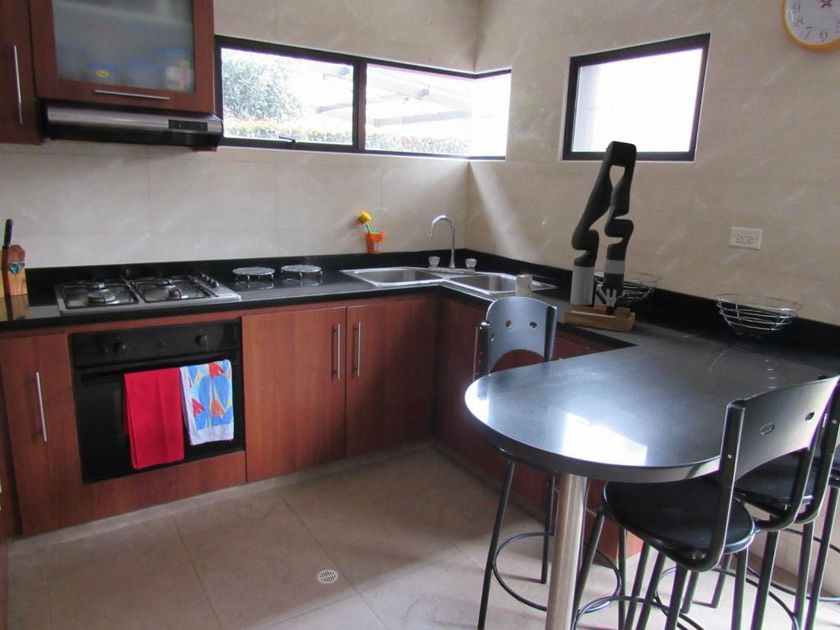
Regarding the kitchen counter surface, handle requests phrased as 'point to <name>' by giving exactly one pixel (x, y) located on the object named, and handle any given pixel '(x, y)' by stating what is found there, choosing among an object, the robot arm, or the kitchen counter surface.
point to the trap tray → (598, 319)
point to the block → (622, 313)
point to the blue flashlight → (523, 285)
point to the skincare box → (597, 301)
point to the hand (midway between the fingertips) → (609, 315)
